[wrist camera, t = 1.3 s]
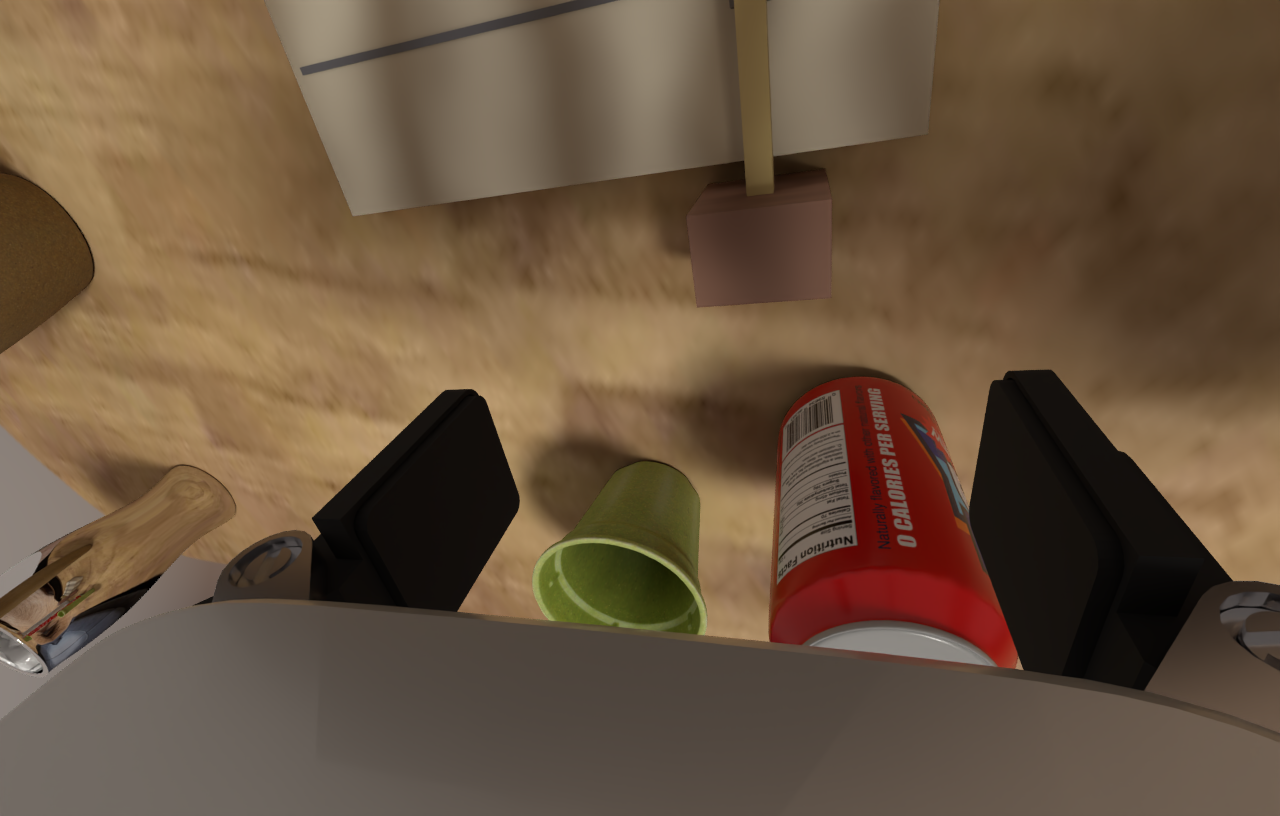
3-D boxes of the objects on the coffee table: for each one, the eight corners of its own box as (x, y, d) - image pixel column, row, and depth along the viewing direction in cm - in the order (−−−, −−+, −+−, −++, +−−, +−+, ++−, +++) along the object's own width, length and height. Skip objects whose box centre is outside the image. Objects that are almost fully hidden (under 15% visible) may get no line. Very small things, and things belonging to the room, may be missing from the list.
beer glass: (230, 474, 45) (18, 631, 33) (249, 532, 49) (67, 692, 37) (155, 450, 46) (-79, 595, 34) (180, 509, 50) (-21, 659, 38)
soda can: (804, 350, 28) (808, 583, 16) (963, 389, 27) (1099, 667, 15) (762, 467, 32) (740, 720, 20) (898, 503, 32) (961, 791, 19)
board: (942, -187, 18) (958, -213, 16) (918, 128, 22) (928, 134, 20) (297, 0, 25) (260, -4, 23) (377, 207, 29) (351, 216, 28)
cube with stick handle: (825, -54, 20) (834, -88, 15) (824, 250, 25) (831, 298, 20) (688, -21, 21) (655, -43, 16) (715, 260, 27) (696, 307, 22)
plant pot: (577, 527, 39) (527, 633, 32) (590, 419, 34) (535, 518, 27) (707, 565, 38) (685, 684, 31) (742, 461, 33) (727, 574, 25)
